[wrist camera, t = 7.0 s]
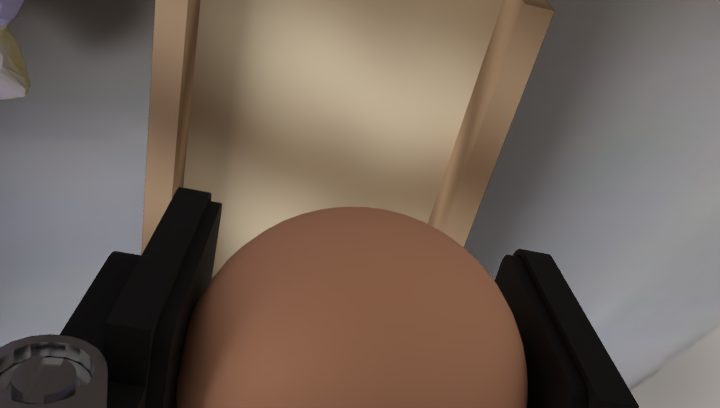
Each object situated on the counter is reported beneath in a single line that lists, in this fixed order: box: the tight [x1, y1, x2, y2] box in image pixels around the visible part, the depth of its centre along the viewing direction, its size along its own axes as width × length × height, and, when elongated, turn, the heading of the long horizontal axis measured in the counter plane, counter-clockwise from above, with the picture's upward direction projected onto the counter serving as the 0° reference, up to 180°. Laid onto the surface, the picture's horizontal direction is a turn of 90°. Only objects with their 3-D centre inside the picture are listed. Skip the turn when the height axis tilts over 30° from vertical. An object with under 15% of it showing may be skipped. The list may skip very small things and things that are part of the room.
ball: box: [176, 207, 528, 408], centre depth 10 cm, size 5×5×5 cm
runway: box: [141, 0, 554, 279], centre depth 24 cm, size 23×11×6 cm, turn 168°
